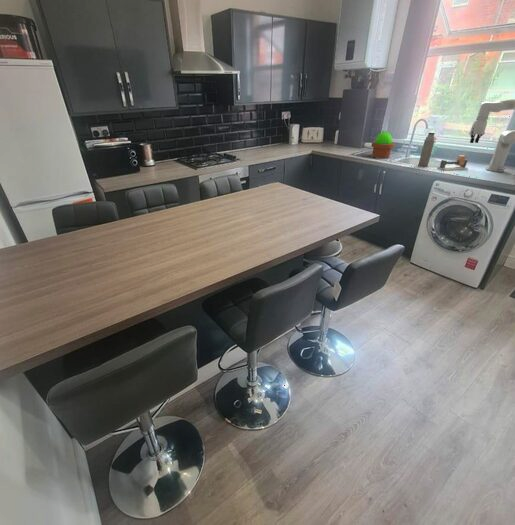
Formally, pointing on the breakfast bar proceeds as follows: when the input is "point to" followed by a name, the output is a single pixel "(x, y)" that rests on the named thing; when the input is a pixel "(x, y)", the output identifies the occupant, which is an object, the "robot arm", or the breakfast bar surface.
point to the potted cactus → (382, 145)
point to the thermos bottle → (427, 150)
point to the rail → (444, 167)
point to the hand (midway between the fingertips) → (473, 142)
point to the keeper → (461, 160)
